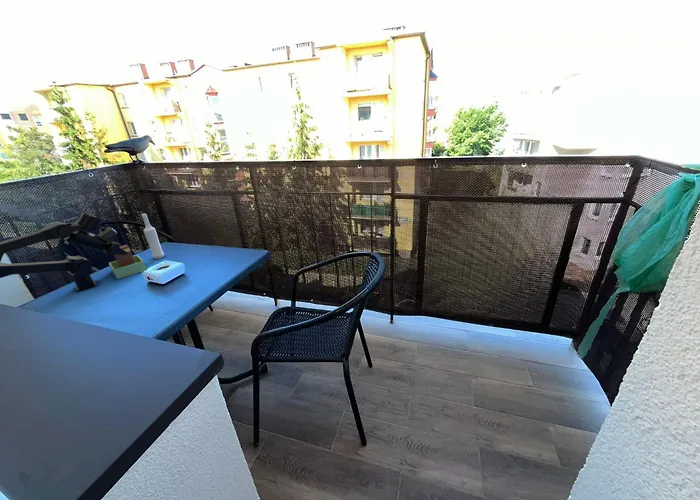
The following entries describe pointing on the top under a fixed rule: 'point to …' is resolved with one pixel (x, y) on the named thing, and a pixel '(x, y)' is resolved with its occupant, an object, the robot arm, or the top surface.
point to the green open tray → (128, 268)
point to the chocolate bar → (124, 257)
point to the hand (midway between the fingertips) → (125, 252)
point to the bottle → (152, 239)
